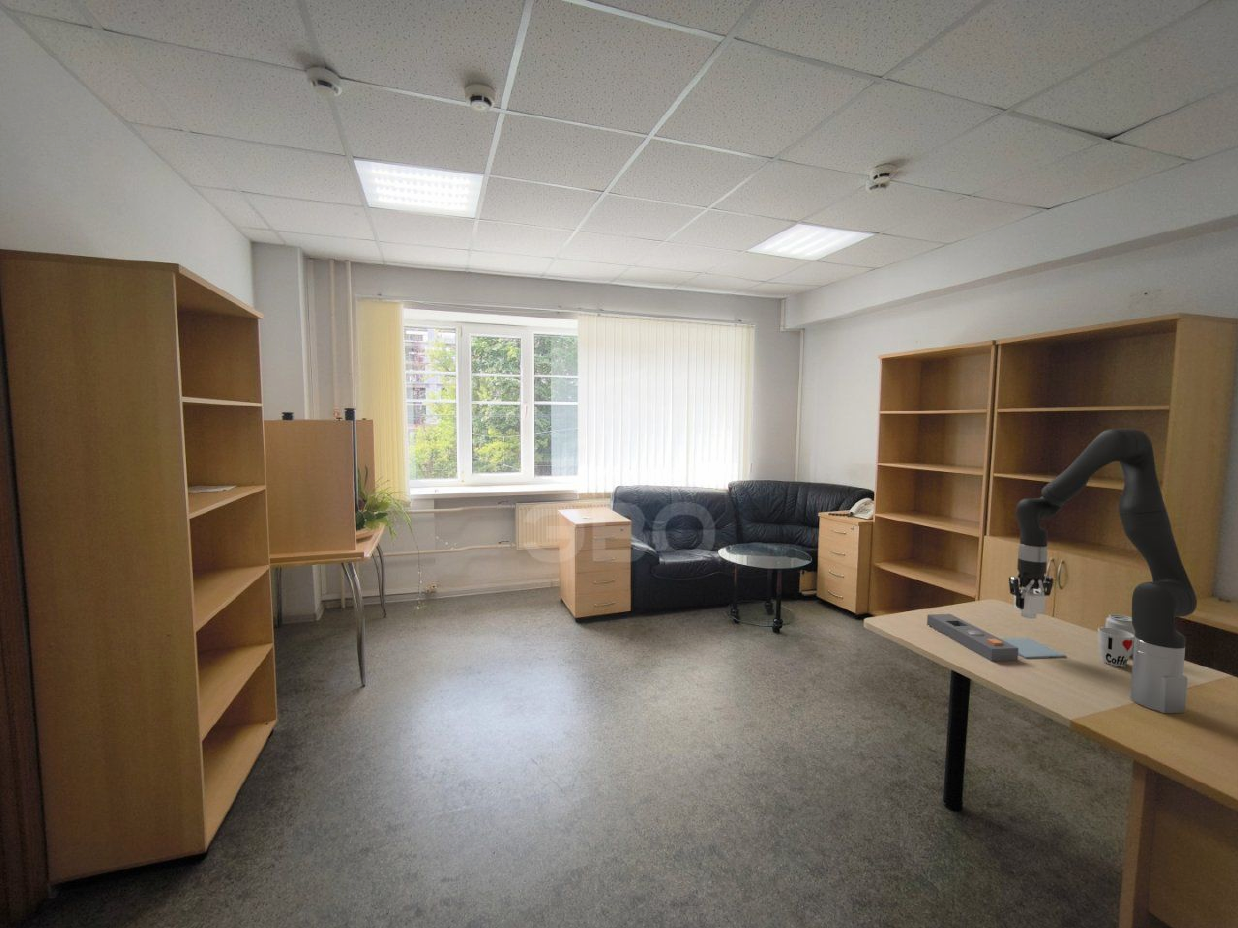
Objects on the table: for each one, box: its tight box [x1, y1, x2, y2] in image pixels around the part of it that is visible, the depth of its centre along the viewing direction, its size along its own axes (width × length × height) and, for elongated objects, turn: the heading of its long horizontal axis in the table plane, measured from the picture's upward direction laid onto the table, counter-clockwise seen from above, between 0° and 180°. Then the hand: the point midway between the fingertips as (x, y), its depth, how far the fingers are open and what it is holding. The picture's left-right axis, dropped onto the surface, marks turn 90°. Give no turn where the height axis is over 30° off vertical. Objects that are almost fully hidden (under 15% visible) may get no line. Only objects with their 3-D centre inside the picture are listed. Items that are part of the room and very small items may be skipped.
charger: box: [1012, 589, 1047, 620], centre depth 170 cm, size 6×6×10 cm
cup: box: [1097, 626, 1134, 668], centre depth 160 cm, size 8×8×10 cm
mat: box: [999, 637, 1067, 659], centre depth 171 cm, size 14×14×1 cm
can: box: [1104, 613, 1135, 657], centre depth 168 cm, size 8×8×12 cm
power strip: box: [926, 613, 1019, 662], centre depth 177 cm, size 30×9×5 cm, turn 4°
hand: (1029, 607), depth 170 cm, fingers closed on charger, 5 cm apart
